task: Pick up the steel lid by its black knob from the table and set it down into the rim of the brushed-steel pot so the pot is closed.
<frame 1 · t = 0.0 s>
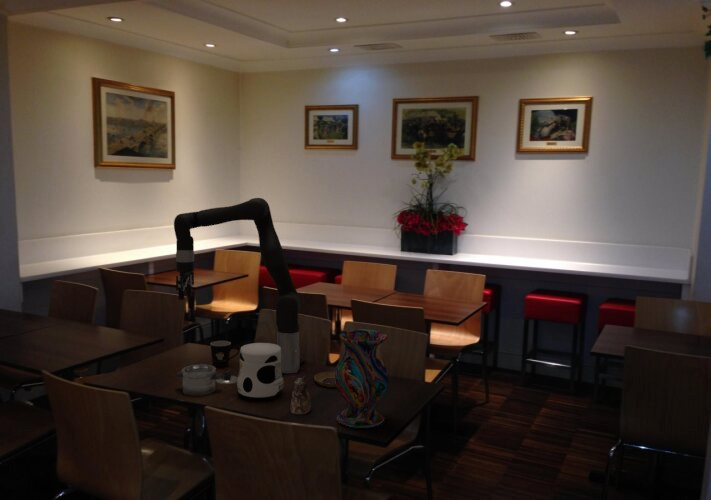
hand: (185, 297, 265), 29 cm above the table, tool pointing down, fingers open, 8 cm apart
coffee mug: (223, 366, 267), on the table
vase: (360, 420, 213), on the table
lid: (227, 381, 249), on the table
figurine: (300, 410, 220), on the table
pot: (198, 390, 237), on the table
plant saucer: (332, 384, 250), on the table
milk container: (260, 394, 234), on the table
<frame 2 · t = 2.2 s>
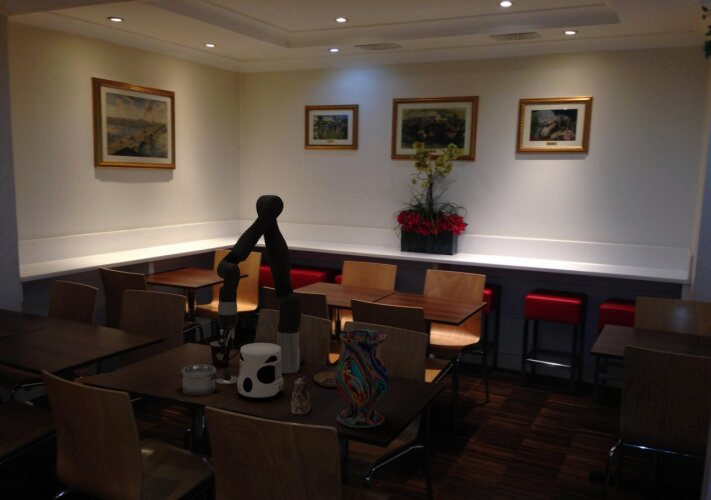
hand: (226, 351, 248), 12 cm above the table, tool pointing down, fingers open, 8 cm apart
nothing on the table moved.
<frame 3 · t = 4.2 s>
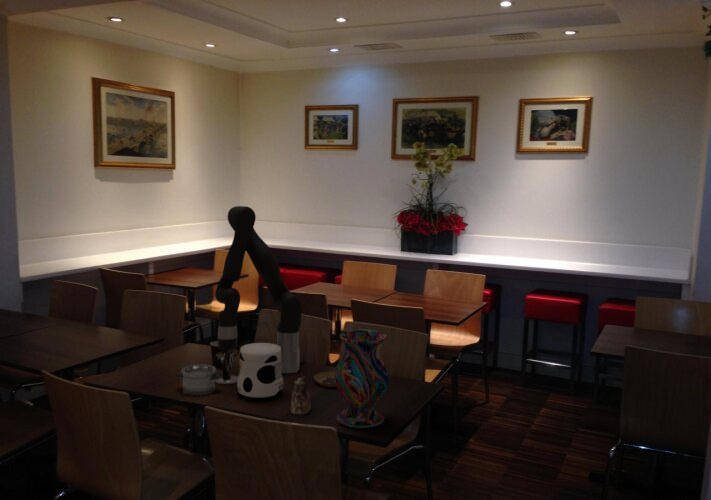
hand: (227, 377, 249), 1 cm above the table, tool pointing down, fingers closed on lid, 2 cm apart
lid: (227, 380, 249), on the table, touching gripper
everything else where it was.
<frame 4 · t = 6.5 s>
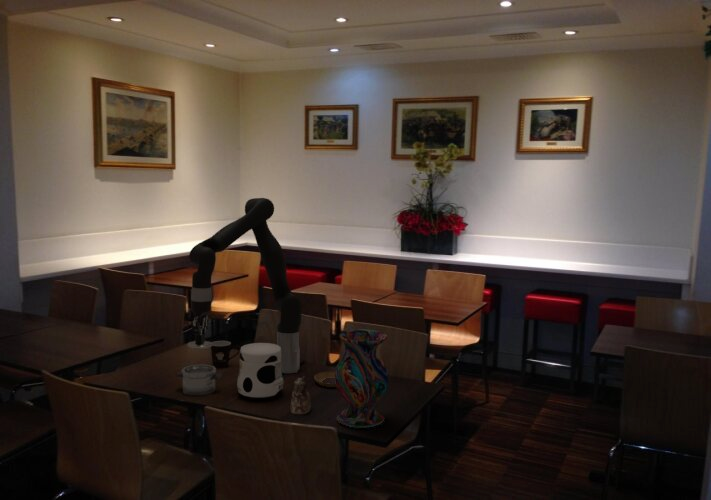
hand: (200, 343, 236), 18 cm above the table, tool pointing down, fingers closed on lid, 2 cm apart
lid: (199, 345, 236), point 17 cm above the table, touching gripper
everything else where it was.
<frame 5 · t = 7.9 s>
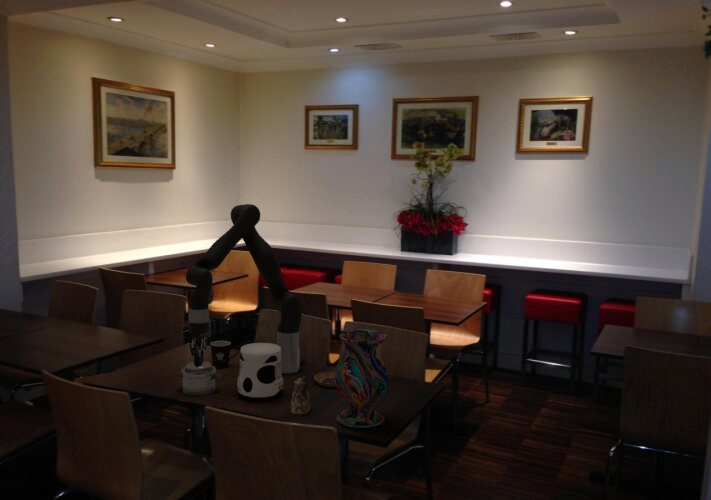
hand: (198, 364, 236), 10 cm above the table, tool pointing down, fingers closed on lid, 2 cm apart
lid: (198, 366, 236), point 9 cm above the table, touching gripper
everything else where it was.
when the fingers open (9 cm above the table, at t = 8.9 s): lid stays where it is, resting on pot.
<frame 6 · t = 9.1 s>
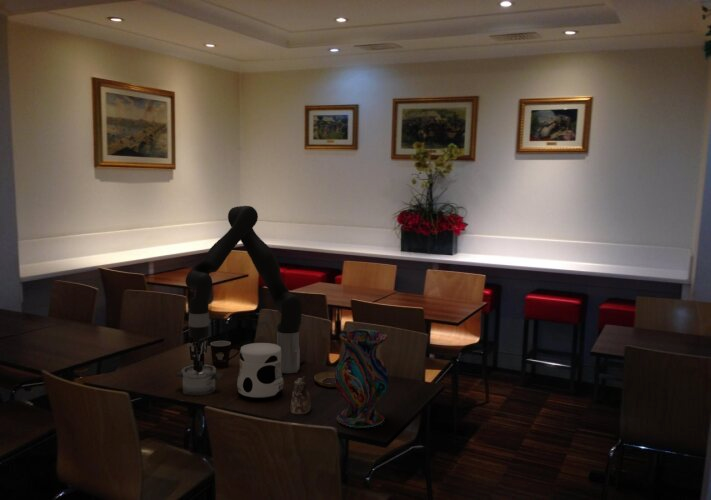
hand: (198, 367, 236), 9 cm above the table, tool pointing down, fingers open, 4 cm apart
lid: (198, 372, 236), point 7 cm above the table, touching pot
everything else where it was.
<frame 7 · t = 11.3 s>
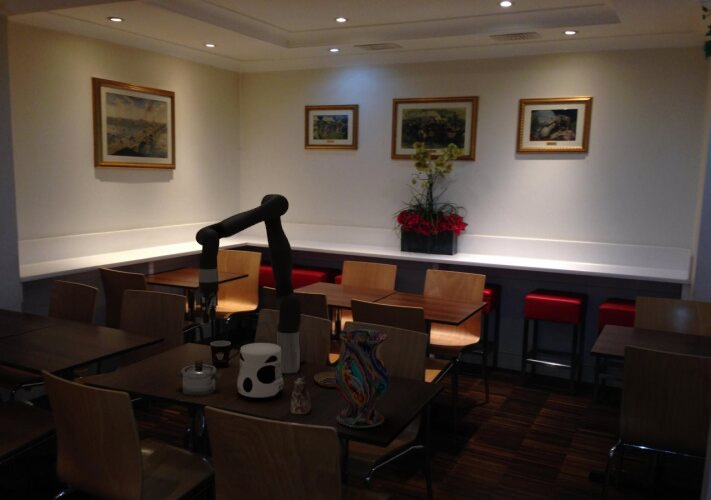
hand: (209, 320, 242), 25 cm above the table, tool pointing down, fingers open, 8 cm apart
nothing on the table moved.
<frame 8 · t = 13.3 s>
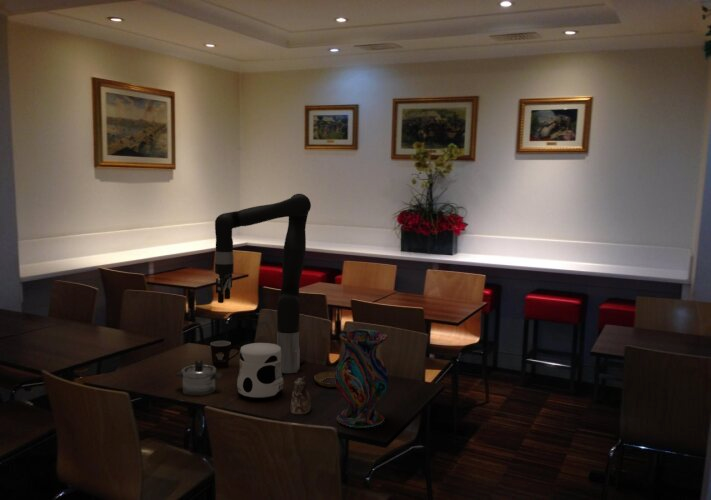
hand: (224, 300, 257), 30 cm above the table, tool pointing down, fingers open, 8 cm apart
nothing on the table moved.
at the end: lid 0.0 cm off-centre on the pot, point 7.0 cm above the pot's base; lid tilted 0°; the gripper is holding nothing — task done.
